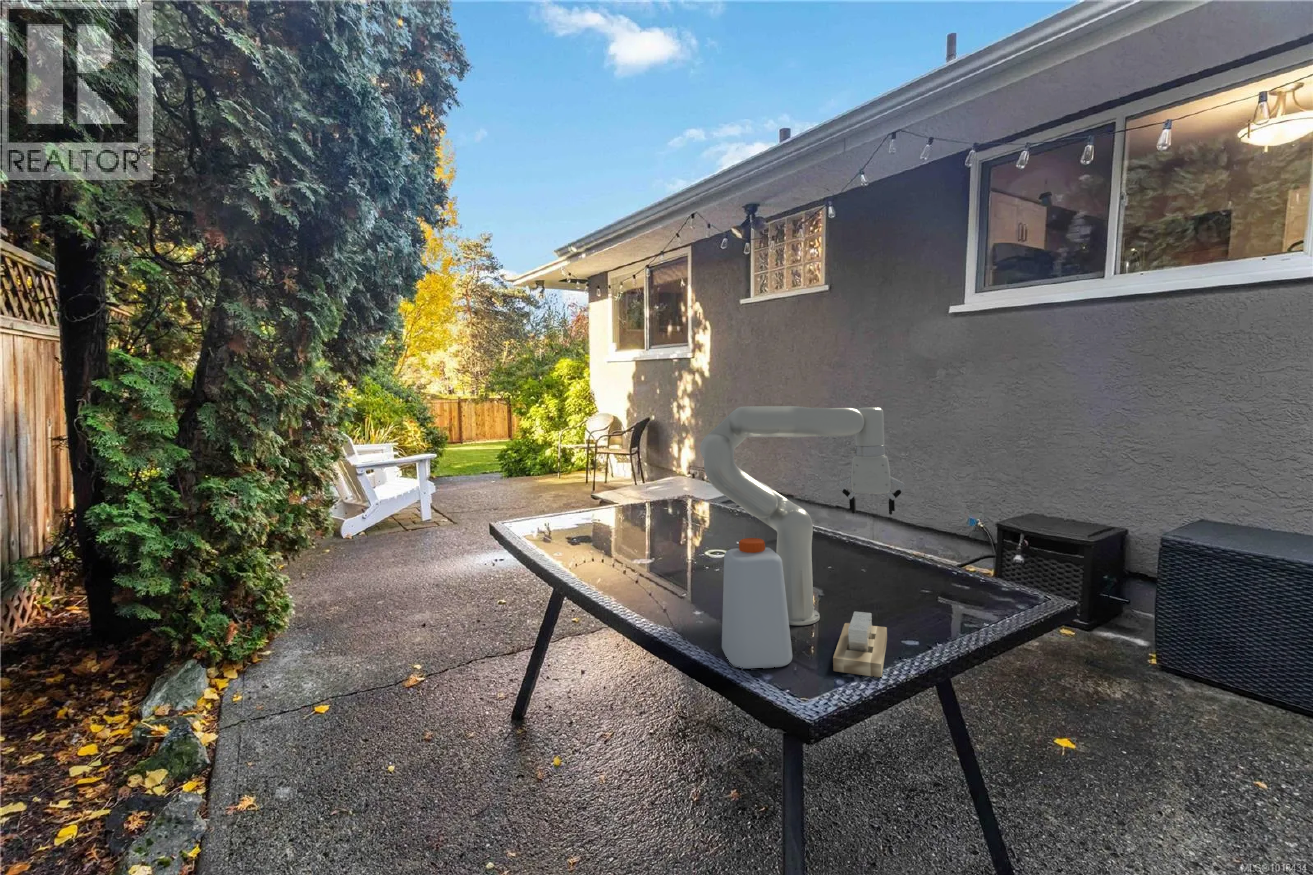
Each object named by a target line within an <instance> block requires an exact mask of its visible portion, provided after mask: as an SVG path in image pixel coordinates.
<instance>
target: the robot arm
mask: <svg viewBox="0 0 1313 875" xmlns="http://www.w3.org/2000/svg"><path fill="white" fill-rule="evenodd" d="M884 423H885V418H884V410H883V409H882V408H881V407H877V406H876V407H873V406H871V407H870V406H869V407H860V408H853V407H808V406H806V407H805V406H798V405H797V406H796V405H795V406H793V405H788V406H787V405H786V406H783V405H782V406H781V405H780V406H779V405H778V406H775V405H773V406H771V405H769V406H768V405H767V406H766V405H763V406H762V405H761V406H759V405H757V406H755V405H754V406H753V405H752V406H751V405H750V406H738V407H737V408H736V409H734V410H733V411H731V413H729V414H728V415H727V416H726V417H725V418H724V419H723V420H722V421H721V422H720V423H719V424H717V425H716V426H715V427H714V428H713V429H712V430H711V431H710V432H709V433H708V434H707V435H705V437H704V438H703V439H702V441H701V443H700V446H699V452H700V454H701V456H702V458H703V468H704V472H705V475H706V478H707V479H708V481H709V483H710V484H711V486H712V487H713V488H714V489H715V490H716V491H718V492H719V493H720V494H722V495H723V496H725V497H726V498H728V499H729V500H730V501H732V502H733V503H735V504H736V505H737V506H739V507H741V508H742V509H743V510H744V511H745V512H746V513H747V514H749V515H750V516H753V517H755V518H757V519H758V520H759V521H761V522H762V523H764V524H765V525H767V526H769V527H770V528H772V529H773V530H774V531H776V533H777V534H776V535H777V537H776V553H777V554H778V555H779V556H780V557H781V559H782V564H783V573H784V583H785V592H786V601H787V610H788V619H789V626H808V625H812V624H813V625H814V624H815V623H817V622H819V620H820V618H821V617H820V612H818V611H817V610H816V609H814V587H813V586H814V585H813V584H814V583H813V579H814V578H813V562H812V560H813V559H812V557H813V556H812V546H813V544H812V543H813V534H814V532H813V531H814V524H813V520H812V518H811V515H810V514H809V513H808V512H807V511H806V510H805V509H804V508H803V507H801V506H799V505H798V504H795V503H794V502H792V501H791V500H789V499H787V498H786V497H785V496H783V495H781V494H780V493H778V492H777V491H776V490H774V489H772V488H771V487H770V486H769V485H767V484H766V483H764V482H762V481H759V480H757V479H755V478H754V477H752V476H751V475H749V474H748V473H747V472H746V471H744V470H742V469H741V468H739V467H738V465H737V464H736V462H735V459H734V458H735V457H734V456H735V449H736V448H738V446H739V445H741V443H743V442H744V441H745V440H746V439H747V438H805V437H806V438H807V437H852V436H855V446H854V447H851V448H850V447H849V448H850V449H849V451H850V452H849V453H850V454H851V453H852V454H855V456H853V457H852V463H851V474H850V475H851V476H850V477H848V478H846V479H845V480H842V481H840V482H838V486H839V489H840V490H841V491H842V494H843V495H845V496H846V497H847V498H848V499H849V500H848V501H849V504H848V505H849V511H851V514H856V512H857V511H856V510H857V509H856V508H857V507H856V505H857V504H856V503H857V502H856V498H855V496H856V495H857V494H874V495H876V494H881V495H882V494H886V496H887V497H888V498H889V499H888V514H889V515H890V516H891V515H893V512H895V511H896V504H895V502H896V499H897V498H898V497H899V496H900V495H901V494H902V492H903V490H904V489H905V487H906V484H905V482H903V481H901V480H900V479H899V480H898V479H896V478H894V477H893V476H891V468H890V467H891V466H890V462H889V458H888V456H887V455H886V451H885V449H886V448H885V424H884ZM850 483H851V492H850V491H849V489H847V487H846V485H849V484H850ZM892 484H893V485H896V486H897V487H898V488H897V489H896V490H895V491H894V492H893V491H892V489H891V488H892Z"/></svg>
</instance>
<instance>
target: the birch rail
mask: <svg viewBox="0 0 1313 875" xmlns="http://www.w3.org/2000/svg"><path fill="white" fill-rule="evenodd" d="M849 625H850V622H845V623H844V624H843V627H842V630H841V634H840V636H839V639H838V642H837V645H836V649H834V650H835V651H834V654H833V657H832V663H833V664H832V666H833V668H832V669H833V672H839V673H844V674H845V673H846V674H852V675H858V676H861V675H862V676H866V677H873V676H874V677H873V678H880V677H882V678H883V670H884V665H885V664H884V663H885V658H886V657H885V655H886V650H887V643H888V642H887V641H888V627H887V626H878V625H872V639H869V653H868V652H860V651H852V650H850V647H849V635H848V628H849Z"/></svg>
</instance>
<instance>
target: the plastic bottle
mask: <svg viewBox="0 0 1313 875" xmlns="http://www.w3.org/2000/svg"><path fill="white" fill-rule="evenodd" d="M722 591H723V593H722V623H721V624H722V626H721V649H722V651H723V653H724V655H725V657H727V658H726V660H727V659H728V660H729V662H731V663H732V664H735V665H737V666H740V667H743V668H763V669H772V668H774V667H775V668H782V667H786V666H788V665H789V664H790V663H791V662H792V660H793V648H792V640H791V630H790V625H789V619H788V610H787V601H786V592H785V583H784V573H783V564H782V559H781V557H780V556H779V555H778V554H777V553H776V552H775V550H773V549H772V548H770V547H768V546H767V547H766V542H765V540H764V539H763V538H758V537H746V538H742V539H740V540H739V541H738V548H730V549H728V550H726V551H725V553H724V556H723V590H722ZM728 660H727V661H728ZM729 662H728V663H729Z"/></svg>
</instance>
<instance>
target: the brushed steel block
mask: <svg viewBox="0 0 1313 875" xmlns="http://www.w3.org/2000/svg"><path fill="white" fill-rule="evenodd" d="M872 620H873V617H872V613H871V612H864V611H853V614H852V617H851V620H850V622H849V623H850V625H849V628H848V635H849V647H850V650H852V651H860V652H868V653H869V639H872V626H873V622H872Z"/></svg>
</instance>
